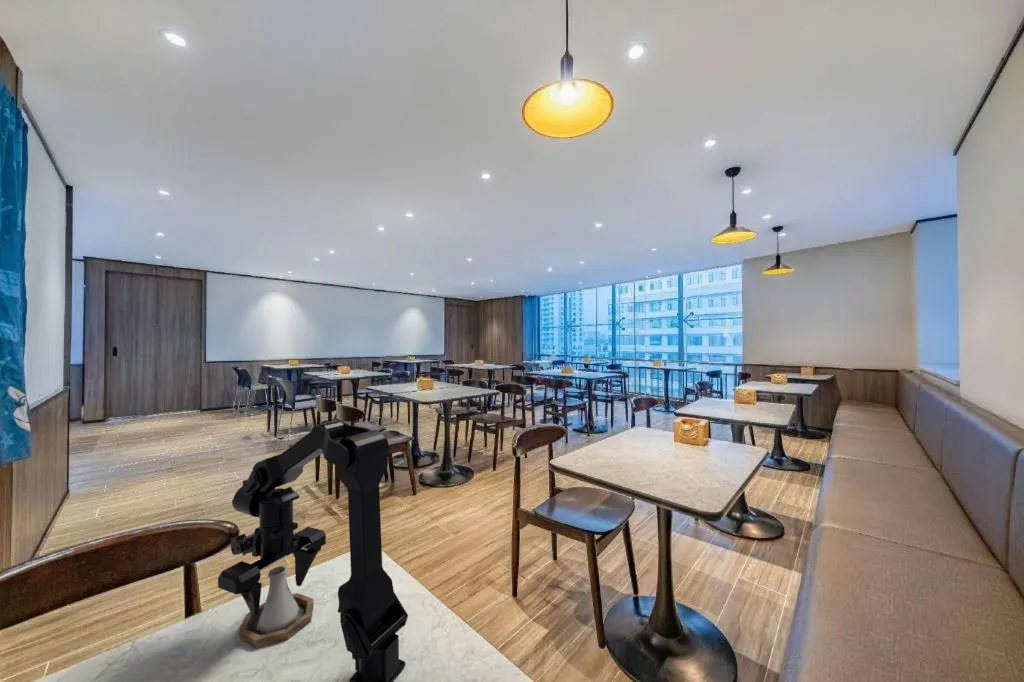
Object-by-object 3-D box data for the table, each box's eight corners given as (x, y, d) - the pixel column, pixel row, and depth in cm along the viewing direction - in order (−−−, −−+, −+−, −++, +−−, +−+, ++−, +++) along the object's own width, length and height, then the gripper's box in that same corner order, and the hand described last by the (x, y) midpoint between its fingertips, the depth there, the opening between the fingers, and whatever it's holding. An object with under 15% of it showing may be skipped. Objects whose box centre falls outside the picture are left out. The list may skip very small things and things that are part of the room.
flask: (285, 634, 73) (284, 581, 73) (247, 634, 73) (246, 582, 73) (306, 608, 80) (306, 559, 80) (272, 608, 80) (271, 560, 80)
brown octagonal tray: (325, 610, 80) (325, 602, 80) (269, 654, 69) (269, 645, 69) (285, 595, 84) (285, 588, 84) (226, 634, 73) (226, 627, 73)
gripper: (291, 496, 88) (292, 565, 88) (198, 535, 71) (199, 620, 71) (327, 504, 84) (328, 576, 84) (237, 547, 66) (238, 637, 67)
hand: (277, 599), depth 76 cm, fingers open, 9 cm apart
